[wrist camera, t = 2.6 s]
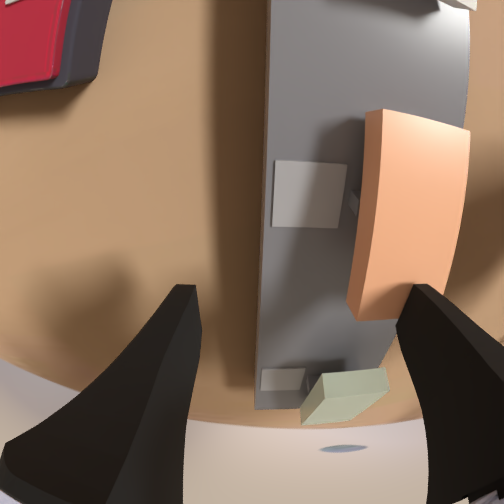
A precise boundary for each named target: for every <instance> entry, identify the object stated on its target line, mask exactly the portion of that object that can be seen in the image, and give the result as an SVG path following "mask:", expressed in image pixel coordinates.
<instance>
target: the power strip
mask: <svg viewBox="0 0 504 504" xmlns="http://www.w3.org/2000/svg"><path fill="white" fill-rule="evenodd" d="M469 61H470V26H469V10H466V9H459V8H453V7H451V6H449V5H447V4H445V3H443V2H441V1H439V0H267V28H266V71H265V108H264V142H263V173H262V203H261V231H260V257H259V282H258V307H257V330H256V353H255V375H254V396H255V410H263V409H297V408H300V407H301V405H302V404H303V402H304V401H305V399H306V398H307V396H308V395H309V393H310V392H311V390H312V389H313V387H314V386H315V384H316V382H317V381H318V379H319V378H320V376H321V374H322V373H335V372H347V371H357V370H366V369H375V368H378V367H379V365H380V364H381V362H382V360H383V358H384V356H385V354H386V353H387V351H388V349H389V347H390V345H391V343H392V341H393V339H394V337H395V335H396V333H397V331H396V327H395V325H396V323H397V321H398V319H387V320H373V321H356V320H355V318H354V316H353V314H352V312H351V310H350V308H349V306H348V305H347V303H346V298H347V292H348V286H349V281H350V275H351V268H352V262H353V255H354V248H355V241H356V234H357V225H358V217H359V208H360V198H361V187H362V175H363V161H364V142H365V112H369V111H374V110H379V109H387V110H392V111H397V112H401V113H406V114H410V115H414V116H419V117H423V118H426V119H430V120H434V121H438V122H441V123H445V124H448V125H452V126H455V127H458V128H461V129H463V125H464V118H465V111H466V102H467V92H468V80H469Z"/></svg>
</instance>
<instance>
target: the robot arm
mask: <svg viewBox="0 0 504 504" xmlns="http://www.w3.org/2000/svg"><path fill="white" fill-rule="evenodd" d="M395 327H396V331H397V336H398V340H399V344H400V348H401V351H402V354H403V357H404V360H405V362H406V365H407V368H408V371H409V373H410V376H411V379H412V382H413V384H414V387H415V390H416V393H417V396H418V399H419V402H420V406H421V409H422V414H423V419H424V425H425V430H426V438H427V448H428V465H429V466H428V467H429V477H428V494H427V502H426V504H453V503H456V502H458V501H461V500H463V499H465V498H467V497H468V500H469V504H504V346H502V345H501V344H500V343H499V342H497V341H496V340H495V339H494V338H492V337H491V336H490V335H489V334H488V333H486V332H485V331H484V330H483V329H482V328H480V327H479V326H478V325H477V324H476V323H475V322H473V321H472V320H471V319H470V318H469V317H468V316H467V315H465V314H464V313H463V312H462V311H461V310H460V309H459V308H457V307H456V306H455V305H454V304H453V303H452V302H450V301H449V300H448V299H447V298H446V297H444V296H443V295H442V294H441V293H439V292H438V291H437V290H436V289H434V288H433V287H431V286H430V285H428V284H413V287H412V289H411V291H410V294H409V296H408V299H407V301H406V303H405V305H404V308H403V310H402V312H401V314H400V317H399V319H398V321H397V323H396V325H395ZM201 336H202V327H201V320H200V313H199V306H198V298H197V291H196V285H183V284H176V285H175V286H174V287H173V288H172V290H171V291H170V293H169V294H168V295H167V297H166V298H165V299H164V301H163V302H162V303H161V305H160V306H159V307H158V309H157V310H156V311H155V313H154V314H153V315H152V317H151V318H150V319H149V320H148V322H147V323H146V324H145V325H144V327H143V328H142V329H141V330H140V332H139V333H138V334H137V335H136V337H135V338H134V339H133V340H132V341H131V342H130V343H129V345H128V346H127V347H126V348H125V349H124V350H123V351H122V353H121V354H120V355H119V356H118V357H117V358H116V359H115V360H114V361H113V362H112V363H111V364H110V366H109V367H108V368H107V369H106V370H105V371H104V372H102V373H101V374H100V375H99V376H98V377H97V378H96V379H95V380H94V381H93V382H92V383H91V384H90V385H89V386H87V387H86V388H85V389H84V390H83V391H82V392H81V393H80V394H78V395H77V396H76V397H75V398H74V399H73V400H71V401H70V402H69V403H67V404H66V405H65V406H63V407H62V408H61V409H59V410H58V411H57V412H55V413H54V414H52V415H51V416H50V417H48V418H47V419H45V420H44V421H43V422H41V423H40V424H38V425H36V426H35V427H33V428H31V429H30V430H28V431H26V432H25V433H23V434H21V435H19V436H18V437H16V438H14V439H12V440H10V441H8V442H7V443H5V446H4V449H3V452H2V455H1V458H0V504H183V465H184V447H185V446H184V445H185V433H186V424H187V417H188V412H189V407H190V402H191V397H192V392H193V387H194V382H195V377H196V373H197V368H198V363H199V357H200V347H201Z"/></svg>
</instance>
